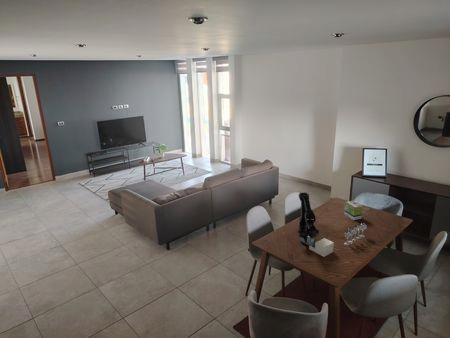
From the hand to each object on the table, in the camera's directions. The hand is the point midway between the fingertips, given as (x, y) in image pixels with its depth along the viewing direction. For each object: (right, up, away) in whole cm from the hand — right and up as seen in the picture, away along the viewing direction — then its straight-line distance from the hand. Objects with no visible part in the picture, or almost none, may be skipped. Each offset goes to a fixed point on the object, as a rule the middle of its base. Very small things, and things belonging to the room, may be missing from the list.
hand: (308, 241), depth 271 cm
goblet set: (+43, 0, +5) cm, 43 cm away
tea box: (+60, +15, +49) cm, 78 cm away
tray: (0, -1, 0) cm, 1 cm away
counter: (+8, -5, -10) cm, 14 cm away
